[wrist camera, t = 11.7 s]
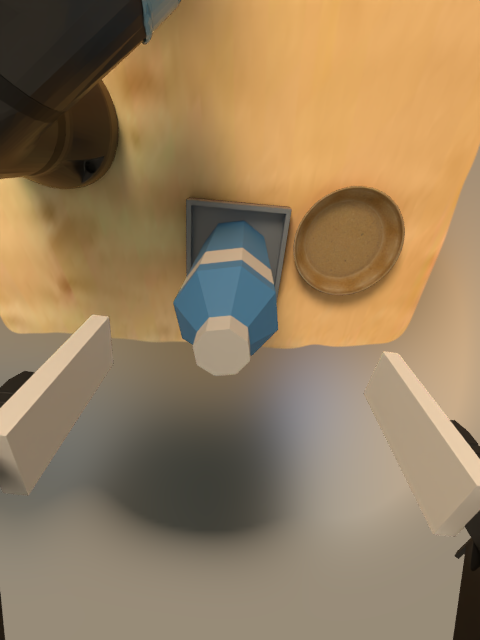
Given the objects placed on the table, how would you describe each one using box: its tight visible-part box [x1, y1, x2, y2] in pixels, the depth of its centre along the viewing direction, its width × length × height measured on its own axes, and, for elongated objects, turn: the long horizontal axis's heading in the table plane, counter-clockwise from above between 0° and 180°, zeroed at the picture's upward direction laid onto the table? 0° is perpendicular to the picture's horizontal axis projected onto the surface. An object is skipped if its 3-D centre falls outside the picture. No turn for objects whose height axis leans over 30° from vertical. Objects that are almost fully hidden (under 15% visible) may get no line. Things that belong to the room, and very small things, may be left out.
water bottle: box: [173, 220, 278, 376], centre depth 31 cm, size 9×9×25 cm
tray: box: [186, 198, 292, 303], centre depth 42 cm, size 14×14×2 cm
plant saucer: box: [294, 186, 405, 295], centre depth 41 cm, size 15×15×3 cm
